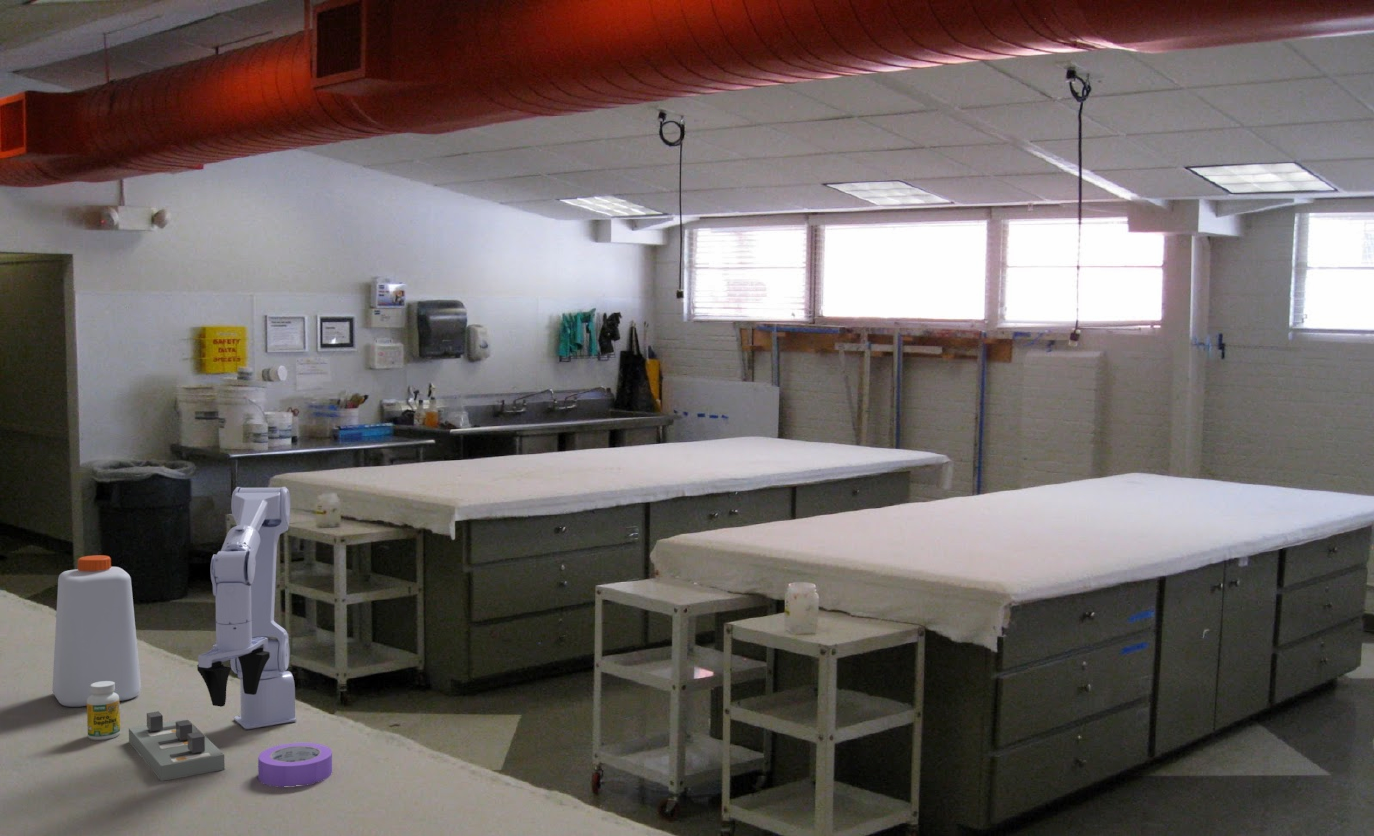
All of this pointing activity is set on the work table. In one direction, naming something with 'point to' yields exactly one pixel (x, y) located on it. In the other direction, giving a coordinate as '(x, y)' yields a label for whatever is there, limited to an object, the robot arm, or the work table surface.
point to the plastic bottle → (95, 632)
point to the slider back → (154, 721)
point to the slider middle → (183, 729)
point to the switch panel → (174, 752)
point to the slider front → (196, 742)
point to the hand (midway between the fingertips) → (234, 699)
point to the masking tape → (294, 764)
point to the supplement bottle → (103, 711)
